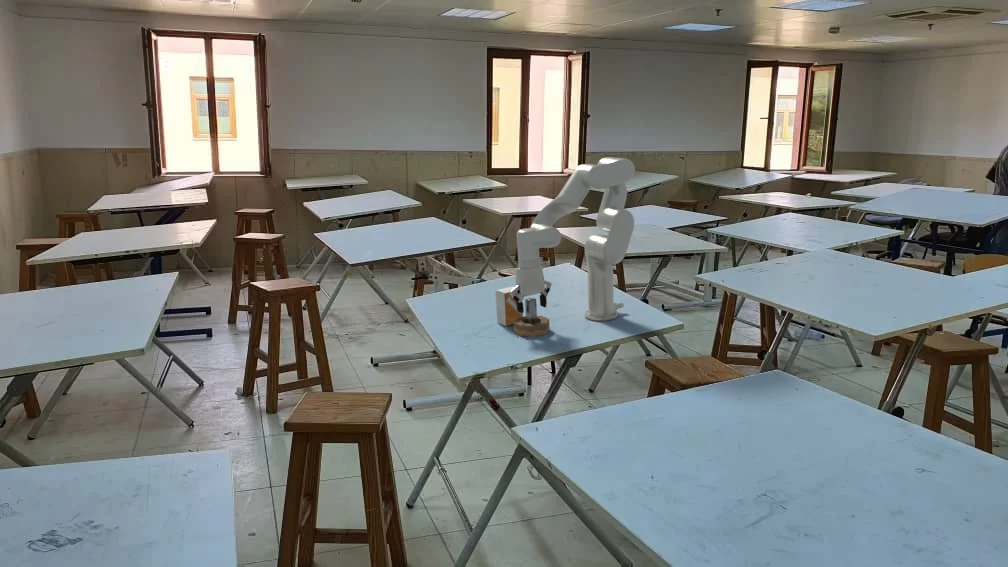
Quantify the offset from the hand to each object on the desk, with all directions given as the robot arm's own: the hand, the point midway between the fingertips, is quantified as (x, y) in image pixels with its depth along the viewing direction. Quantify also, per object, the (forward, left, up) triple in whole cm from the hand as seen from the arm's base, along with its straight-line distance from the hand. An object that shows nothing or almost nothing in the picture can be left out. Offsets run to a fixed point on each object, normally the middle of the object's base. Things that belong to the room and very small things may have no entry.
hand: (532, 309), depth 255 cm
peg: (0, 0, -8) cm, 8 cm away
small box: (+1, -14, -9) cm, 16 cm away
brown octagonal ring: (0, 0, -8) cm, 8 cm away
